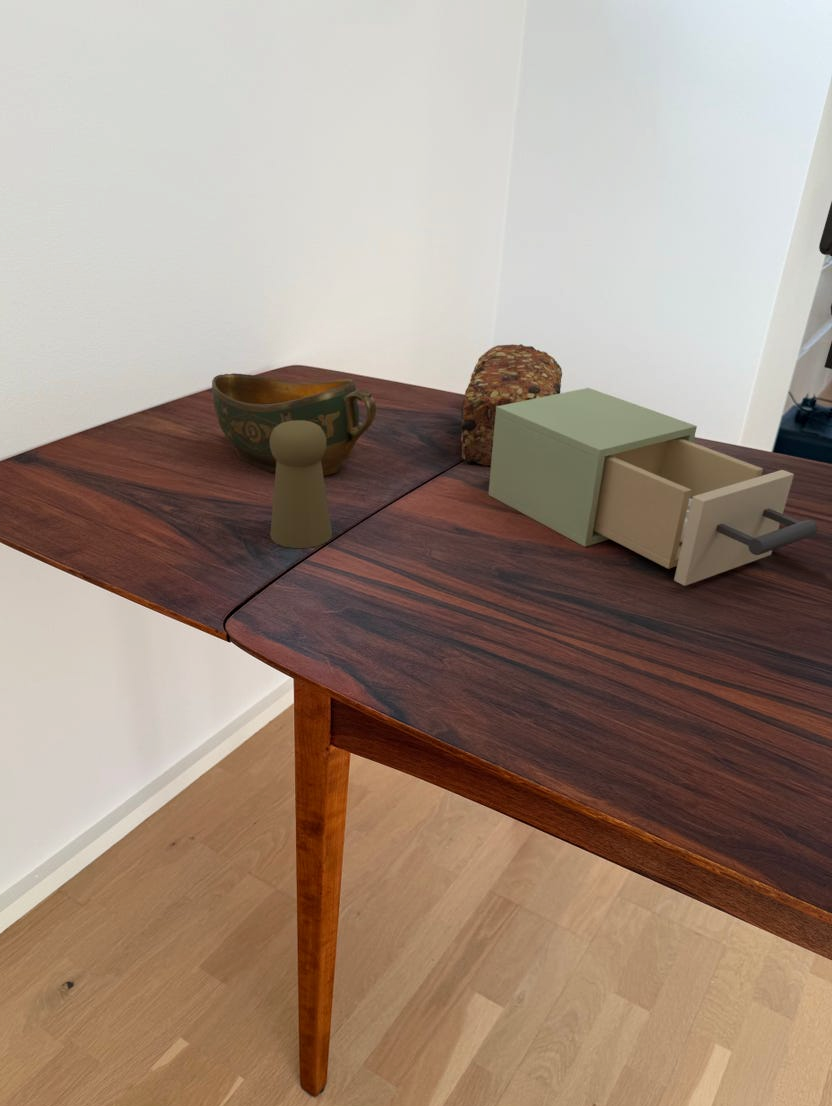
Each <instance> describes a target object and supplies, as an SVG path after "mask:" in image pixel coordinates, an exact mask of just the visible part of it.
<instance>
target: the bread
mask: <svg viewBox="0 0 832 1106" xmlns="http://www.w3.org/2000/svg"><path fill="white" fill-rule="evenodd" d="M562 377H563V370H562V367H561V365H560V364H559V363H558V361H556V359H555V358H554V357H553V356H551V355H549V354H548V352H546V351H541V350H540V349H535V347H534V346H533V345H532V346H531V345H528V346H527V345H523V344H522V343H521V344H501V345H498V344H497V345H495V346H493V347H491V348H490V349H488V350H487V351H486V352H484V353H483V354H482V355H480V357H479V358H478V360H477V363H475V366H474V369H473V371H472V373H471V376H470V379H469V383H468V385H467V387H466V389H465V392H464V396H463V399H462V405H461V410H462V411H461V415H460V416H461V425H460V427H461V439H460V442H461V457H462V458H463V460H464V461H466V462H468V463H477V464H480V465H483V466H485V467H487V466H490V467H491V460H492V449H493V437H494V426H495V415H496V407H497V406H501V405H506V404H511V403H516V402H521V401H526V400H531V399H536V398H541V397H545V396H550V395H555V394H560V393H561V388H562Z"/></svg>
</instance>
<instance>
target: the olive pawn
mask: <svg viewBox="0 0 832 1106" xmlns="http://www.w3.org/2000/svg"><path fill="white" fill-rule="evenodd" d="M270 449H271V452H272V455H273V457H274V458H275V459H276V460H277V462H276V473H274V475H275V476H274V486H273V497H272V498H273V499H272V511H271V521H270V534H269V536H270V539H271V541H273V542H274V543H275V544H276V545H278V546H282V547H284V548H290V549H308V548H314V547H315V548H316V547H319V546H322V545H324V544H325V543H328V541H330V540H331V539H332V537H333V530H332V529H333V528H332V523H331V516H330V510H329V503H328V496H327V490H326V485H325V479H324V477H325V476H323V471H322V464H321V458H322V457H323V455H324V453H325V449H326V436H325V433H324V431H323V430H322V428H321V427H320V426H319V425H317V424H315V423H313V422H310V421H301V420H296V421H288V422H284V423H281V424H279V425H278V426H276V427H275V428H274V430H273V431H272V433H271V436H270Z"/></svg>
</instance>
